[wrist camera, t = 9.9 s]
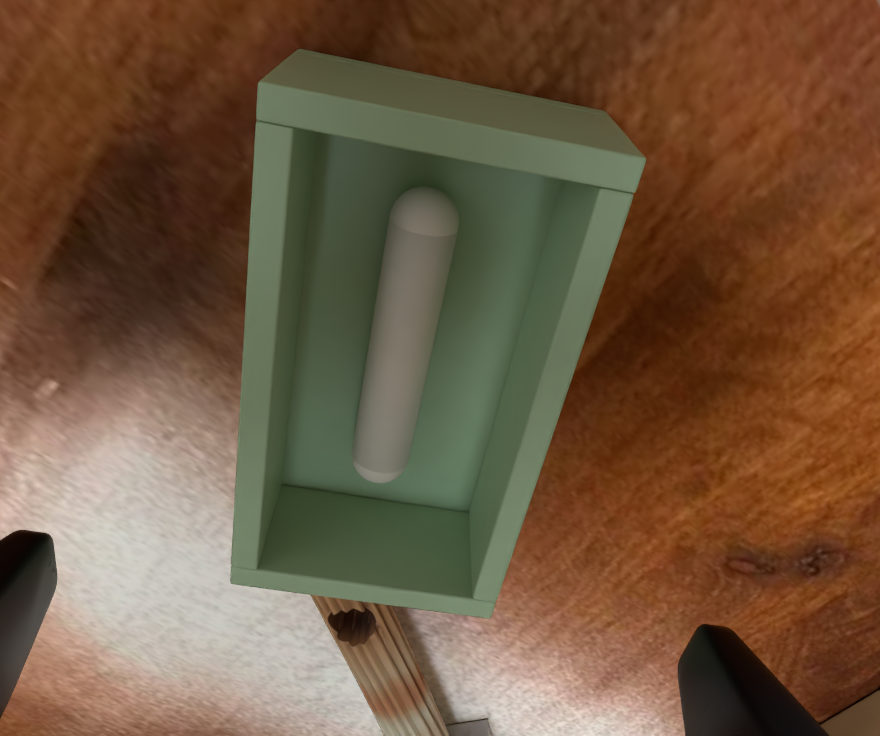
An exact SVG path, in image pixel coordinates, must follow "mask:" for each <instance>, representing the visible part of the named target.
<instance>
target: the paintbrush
mask: <svg viewBox="0 0 880 736" xmlns="http://www.w3.org/2000/svg"><path fill="white" fill-rule="evenodd" d="M311 596H312V598H313V600H314V602H315V604H316V606H317V608H318V610H319V611H320V613H321V615H322V617H323V619H324V621H325V623H326V625H327V626H328V628H329V630H330V632H331V634H332V636H333V638H334V640H335V641H336V643H337V645H338V647H339V649H340V651H341V653H342V655H343V656H344V658H345V660H346V662H347V664H348V666H349V668H350V670H351V671H352V673H353V675H354V677H355V679H356V681H357V683H358V685H359V687H360V688H361V690H362V692H363V694H364V696H365V698H366V700H367V702H368V704H369V706H370V708H371V710H372V712H373V714H374V716H375V718H376V720H377V722H378V724H379V726H380V728H381V730H382V732H383V733H384V735H383V736H492V734H491V730H490V726H489V723H488V719H487V720H481V721H474V722H468V723H461V724H455V725H448V726H445V724H444V721H443V719H442V717H441V715H440V712H439V710H438V708H437V706H436V703H435V701H434V699H433V697H432V694H431V692H430V690H429V688H428V685H427V683H426V681H425V679H424V676H423V674H422V672H421V670H420V667H419V665H418V663H417V661H416V658H415V656H414V654H413V652H412V649H411V647H410V645H409V643H408V640H407V638H406V636H405V634H404V632H403V629H402V627H401V625H400V623H399V620H398V618H397V616H396V614H395V611H394V609H393V607H392V606H391V605H384V604H377V603H369V602H362V601H354V600H347V599H339V598H332V597H325V596H317V595H311Z"/></svg>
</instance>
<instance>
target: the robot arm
mask: <svg viewBox="0 0 880 736" xmlns="http://www.w3.org/2000/svg"><path fill="white" fill-rule="evenodd" d="M56 585H57V568H56V560H55V552H54V544H53V539H52V537H51V536H50V535H49V534H47V533H42V532H35V531H27V530H18V531H15V532H13V533H11V534H9V535H8V536H6V537H5V538H3V539H2V540H0V718H1V716H2V714H3V712H4V710H5V708H6V706H7V704H8V702H9V700H10V697H11V695H12V693H13V691H14V688H15V686H16V684H17V681H18V679H19V677H20V674H21V672H22V669H23V667H24V665H25V662H26V660H27V657H28V655H29V653H30V650H31V648H32V645H33V643H34V641H35V638H36V636H37V633H38V631H39V629H40V626H41V624H42V621H43V619H44V617H45V614H46V612H47V609H48V607H49V605H50V602H51V600H52V597H53V595H54V592H55V589H56ZM678 682H679V690H680V697H681V705H682V713H683V721H684V728H685V736H830V735H829V734H828V733H827V732H826V731H825V730H824V729H823V728H822V727H821V726H820V725H819V723H818V722H817V721H816V720H815V719H814V718H813V717H812V716H811V715H810V714H809V713H808V712H807V710H806V709H805V708H804V707H803V706H802V705H801V704H800V703H799V702H798V701H797V700H796V698H795V697H794V696H793V695H792V694H791V693H790V692H789V691H788V690H787V689H786V688H785V687H784V685H783V684H782V683H781V682H780V681H779V680H778V679H777V678H776V677H775V676H774V675H773V673H772V672H771V671H770V670H769V669H768V668H767V667H766V666H765V665H764V664H763V663H762V662H761V660H760V659H759V658H758V657H757V656H756V655H755V654H754V653H753V652H752V651H751V650H750V649H749V647H748V646H747V645H746V644H745V643H744V642H743V641H742V640H741V639H740V638H739V637H738V635H737V634H736V633H735V632H734V631H732V630H731V629H730V628H727V627H724V626H716V625H709V624H702V625H701V626H699V627H698V628H697V629H696V631H695V633H694V634H693V636H692V638H691V640H690V641H689V643H688V645H687V647H686V648H685V650H684V652H683V654H682V655H681V657H680V660H679V663H678Z"/></svg>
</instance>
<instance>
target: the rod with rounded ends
mask: <svg viewBox="0 0 880 736" xmlns="http://www.w3.org/2000/svg"><path fill="white" fill-rule="evenodd" d="M458 225H459V218H458V213H457V210H456V207H455V205H454V203H453V202H452V200H451V199H450V198H449V197H448V196H447V195H446V194H445V193H443V192H442V191H440V190H438V189H436V188H432V187H427V186H420V187H415V188H412V189H410V190H408V191H406V192H404V193H403V194H402V195H401V196H399V198H398V199H397V200H396V201H395V203H394V205H393V207H392V209H391V212H390V216H389V223H388V229H387V235H386V241H385V248H384V254H383V260H382V266H381V273H380V279H379V285H378V291H377V297H376V304H375V310H374V316H373V322H372V329H371V335H370V341H369V347H368V353H367V360H366V366H365V372H364V378H363V385H362V391H361V397H360V403H359V410H358V416H357V422H356V428H355V434H354V441H353V447H352V461H353V465H354V467H355V469H356V470H357V472H358V473H359V474H360V475H361V476H362V477H363V478H365V479H366V480H368V481H371V482H375V483H386V482H389V481H392V480H394V479H396V478H397V477H398V476H400V475H401V474H402V473H403V471H404V470H405V468H406V466H407V464H408V461H409V456H410V452H411V447H412V442H413V438H414V433H415V428H416V424H417V419H418V414H419V410H420V405H421V400H422V396H423V391H424V386H425V382H426V377H427V372H428V368H429V363H430V358H431V354H432V349H433V344H434V340H435V335H436V330H437V326H438V321H439V316H440V312H441V307H442V302H443V298H444V293H445V288H446V284H447V279H448V274H449V270H450V265H451V260H452V256H453V251H454V246H455V242H456V237H457V232H458Z"/></svg>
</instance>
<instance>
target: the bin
mask: <svg viewBox="0 0 880 736" xmlns="http://www.w3.org/2000/svg"><path fill="white" fill-rule="evenodd" d="M256 118H257V120H258V121H257V122H256V128H255V146H254V164H253V182H252V200H251V218H250V236H249V253H248V271H247V289H246V307H245V325H244V343H243V360H242V378H241V396H240V414H239V432H238V450H237V468H236V485H235V503H234V521H233V539H232V557H231V565H232V566H231V578H230V581H231V583H232V584H236V585H243V586H250V587H258V588H265V589H273V590H280V591H288V592H295V593H302V594H310V595H317V596H325V597H332V598H339V599H347V600H354V601H362V602H369V603H377V604H384V605H391V606H399V607H406V608H414V609H421V610H429V611H436V612H443V613H451V614H458V615H466V616H473V617H481V618H491V616H492V613H493V610H494V607H495V604H496V600H497V598H498V595H499V592H500V589H501V586H502V583H503V580H504V577H505V575H506V572H507V569H508V566H509V563H510V560H511V557H512V554H513V551H514V548H515V545H516V542H517V539H518V536H519V533H520V530H521V527H522V524H523V521H524V518H525V516H526V513H527V510H528V507H529V504H530V501H531V498H532V495H533V492H534V489H535V486H536V483H537V480H538V477H539V474H540V471H541V468H542V465H543V462H544V459H545V457H546V454H547V451H548V448H549V445H550V442H551V439H552V436H553V433H554V430H555V427H556V424H557V421H558V418H559V415H560V412H561V409H562V406H563V403H564V401H565V398H566V395H567V392H568V389H569V386H570V383H571V380H572V377H573V374H574V371H575V368H576V365H577V362H578V359H579V356H580V353H581V350H582V347H583V344H584V342H585V339H586V336H587V333H588V330H589V327H590V324H591V321H592V318H593V315H594V312H595V309H596V306H597V303H598V300H599V297H600V294H601V291H602V288H603V285H604V283H605V280H606V277H607V274H608V271H609V268H610V265H611V262H612V259H613V256H614V253H615V250H616V247H617V244H618V241H619V238H620V235H621V232H622V229H623V227H624V224H625V221H626V218H627V215H628V212H629V209H630V206H631V203H632V200H633V193H635V192H636V190H637V187H638V184H639V181H640V178H641V175H642V172H643V169H644V166H645V163H646V158H645V157H644V155H643V154H642V153H641V152H640V151H639V150H638V148H637V147H636V146H635V145H634V144H633V143H632V141H631V140H630V139H629V138H628V137H627V136H626V134H625V133H624V132H623V131H622V130H621V129H620V128H619V126H618V125H617V124H616V123H615V122H614V121H613V119H612V118H611V117H610V116H609V115H608V114H607V113H606V112H605V111H603V110H598V109H593V108H588V107H583V106H578V105H573V104H569V103H564V102H559V101H554V100H549V99H544V98H539V97H534V96H529V95H524V94H520V93H515V92H510V91H505V90H500V89H495V88H490V87H485V86H480V85H475V84H471V83H466V82H461V81H456V80H451V79H446V78H441V77H436V76H431V75H426V74H422V73H417V72H412V71H407V70H402V69H397V68H392V67H387V66H382V65H377V64H373V63H368V62H363V61H358V60H353V59H348V58H343V57H338V56H333V55H328V54H324V53H319V52H314V51H309V50H304V49H298V50H297V51H295V52H294V53H293V54H291V55H290V56H289V57H288V58H287V59H285V60H284V61H283V62H282V63H281V64H279V65H278V66H277V67H276V68H275V69H273V70H272V71H271V72H270V73H269V74H267V75H266V76H265V77H264V78H263V79H261V80H260V81H259V83H258V92H257V110H256ZM420 186H427V187H432V188H436V189H438V190H440V191H442V192H443V193H445V194H446V195H447V196H448V197H449V198H450V199H451V200H452V202H453V203H454V205H455V207H456V210H457V213H458V218H459V225H458V232H457V237H456V242H455V246H454V251H453V256H452V260H451V265H450V270H449V274H448V279H447V284H446V288H445V293H444V298H443V302H442V307H441V312H440V316H439V321H438V326H437V330H436V335H435V340H434V344H433V349H432V354H431V358H430V363H429V368H428V372H427V377H426V382H425V386H424V391H423V396H422V400H421V405H420V410H419V414H418V419H417V424H416V428H415V433H414V438H413V442H412V447H411V452H410V456H409V461H408V464H407V466H406V468H405V470H404V471H403V473H402V474H401V475H400V476H398V477H397V478H396V479H394V480H392V481H389V482H386V483H375V482H371V481H368V480H366V479H365V478H363V477H362V476H361V475H360V474H359V473H358V472H357V470H356V469H355V467H354V465H353V461H352V447H353V441H354V434H355V428H356V422H357V416H358V410H359V403H360V397H361V391H362V385H363V378H364V372H365V366H366V360H367V353H368V347H369V341H370V335H371V329H372V322H373V316H374V310H375V304H376V297H377V291H378V285H379V279H380V273H381V266H382V260H383V254H384V248H385V241H386V235H387V229H388V223H389V216H390V212H391V209H392V207H393V205H394V203H395V201H396V200H397V199H398V198H399V196H401V195H402V194H403V193H404V192H406V191H408V190H410V189H412V188H415V187H420Z"/></svg>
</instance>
